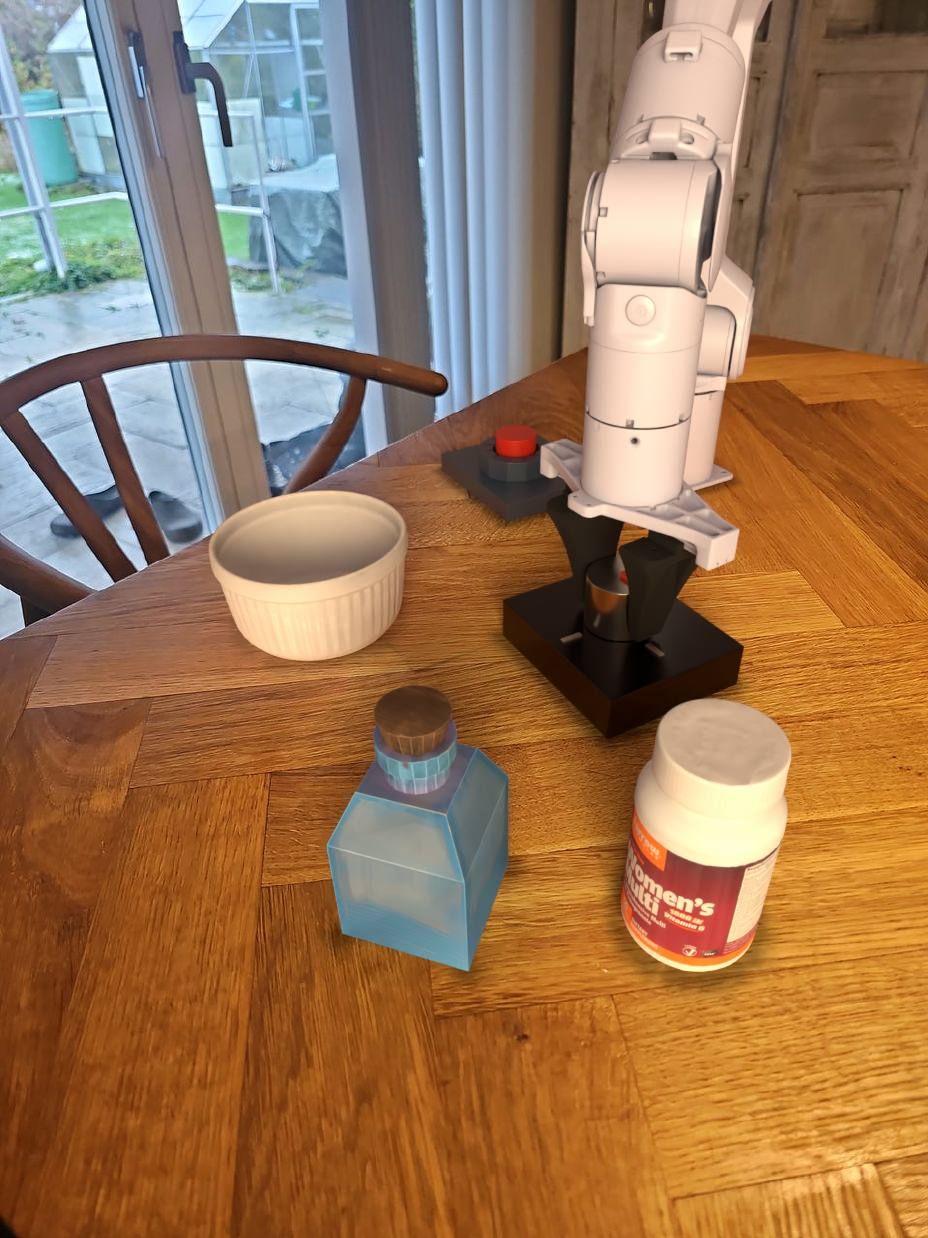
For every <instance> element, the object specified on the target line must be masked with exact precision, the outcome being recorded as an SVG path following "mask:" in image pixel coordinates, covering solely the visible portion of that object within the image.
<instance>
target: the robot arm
mask: <svg viewBox="0 0 928 1238" xmlns="http://www.w3.org/2000/svg"><path fill="white" fill-rule="evenodd" d="M772 1H773V0H665V2H664V10H663V17H662V26H661V29H660V30H658V31H657V32H655V33H654V34H652V35H651V36H649V38H648V39H647V40H646V41H644V43H643V44H642V45H641V47H640V48H639V49H638V50H637V53H636V54H635V56H634V58H633V61H632V64H631V69H630V71H629V72H630V73H629V77H628V81H627V85H626V89H625V94H624V98H623V103H622V107H621V110H620V115H619V119H618V124H617V128H616V131H615V136H614V140H613V145H612V149H611V154H610V158H609V162H608V165H607V167H606V169H605V170H606V171H601V172H600V171H599V170H594V171H593V172H592V173H591V174H590V177H589V180H588V183H587V186H586V191H585V196H584V200H583V205H582V210H581V211H582V212H581V220H580V233H579V243H580V244H579V250H580V251H579V252H580V266H581V276H582V285H583V307H582V311H583V312H582V316H583V324H584V325H587V326H588V327H589V334H588V346H587V347H588V348H587V361H586V362H587V365H586V383H585V399H584V415H583V418H584V420H583V432H582V433H583V434H582V435H583V436H582V444H580V443H578V442H575V441H572V440H570V439H568V438H561V439H558V440H556V441H555V440H554V441H550V442H551V443H548V444H545V445H542V446H541V460H540V473H541V474H543V475H544V476H546V477H548V478H554V477H557V476H559V477H561V478H562V479H564V480H565V482H566V488H565V490H563V494H562V495H559V496H556V497H553V498H551V499H550V500H548V502H547V510H546V513H547V515H548V516H549V518H550V519H551V521H552V523H553V525H554V526H555V528H556V530H557V532H558V534H559V536H560V538H561V541H562V543H563V546H564V549H565V552H566V555H567V558H568V562H569V565H570V566H569V567H570V570H571V575H572V576H573V579H574V583H575V588H576V592H577V596H578V599H579V601H581V602H582V603H585V588H586V573H587V569H588V568H589V566H590V565H591V564H592V563H594V562H595V561H597V560H600V559H603V558H607V557H614V556H617V552H618V556H620V557H621V560H622V562H623V565H624V568H625V572H626V576H627V581H628V589H629V613H628V628H629V634H630V637H631V638H632V639H634V640H635V641H636V642H640V641H643V640H645V639H647V638H649V637H651V636H653V635H656V634H658V633H660V632H661V631H662V628H663V626H664V624H665V621H666V619H667V617H668V614H669V612H670V610H671V608H672V606H673V604H674V602H675V600H676V598H678V596H679V594H680V593H681V591H682V589H683V588H684V586H685V585H686V583H687V582H688V580H689V579H690V578H691V576H692V575H693V573H694V572H695V571H696V570H697V568H698V567H700V568H702V569H704V570H705V571H708V572H709V571H711V570H713V569H717V568H719V567H722V566H724V565H727V564H728V563H730V562H732V561H735V558H736V552H737V546H738V542H739V537H740V530H741V529H740V528H739V527H737V526H736V525H733V524H732V523H730V522H729V521H727V520H726V519H725V518H723V517H722V516H721V515H719V513H717V512H716V511H715V510H714V509H713V508H712V507H711V506H710V505H709V504H708V503H707V502H706V501H705V500H704V499H703V498H702V497H701V496H700V495H699V494H698V493H697V492H696V491H699V490H701V489H705V488H709V487H712V486H715V485H718V484H722V483H723V482H724V483H725V482H728V481H731V480H732V479H733V478H734V474H733V472H732V471H729V470H727V469H726V468H723V467H722V466H720V465H717V464H715V463H714V462H715V455H716V449H717V442H718V435H719V430H720V423H721V416H722V409H723V404H724V397H725V390H726V387H727V384H728V381H731V382H732V381H733V382H734V381H736V380H737V379H738V378H739V377H741V376H742V375H743V373H744V370H745V364H746V357H747V351H748V347H749V340H750V334H751V327H752V321H753V316H754V309H755V308H754V307H753V306H754V305H753V304H754V298H755V293H756V287H755V286H754V285H753V283H754V281H753V279H752V278H751V277H750V276H749V275H748V274H747V273H746V272H745V271H744V270H742V268H741V267H739V266H738V265H737V264H736V263H734V262H733V261H732V259H730V258H729V257H728V256H727V255H726V249H727V241H728V235H729V228H730V219H731V213H732V205H733V199H734V191H735V184H736V175H737V169H738V162H739V153H740V146H741V139H742V132H743V125H744V118H745V112H746V105H747V104H746V103H747V96H748V89H749V81H750V75H751V66H752V60H753V52H754V45H755V38H756V34H757V32H758V28H759V27H760V24H761V22H762V20H763V18H764V16H765V13H766V11H767V9H768V6H769V4H770V3H771V2H772ZM625 523H626V524H630V525H633V526H636V527H639V528H642V529H647V530H648V532H647V536H642V537H640V538H637V539H634V540H632V541H629V542H627V543H623V544H622V545H619V543H620V538H621V534H622V531H623V528H624V524H625Z"/></svg>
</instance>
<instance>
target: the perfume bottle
mask: <svg viewBox="0 0 928 1238" xmlns="http://www.w3.org/2000/svg"><path fill="white" fill-rule="evenodd" d="M452 713H453V705H452V701H451V699H450V698H449V696H448V695H447V694H446V693H444V692H443V691H441V690H440V689H438V688H435V687H432V686H430V685H422V684H410V685H403V686H400V687H396V688H393V689H391V690H390V691H388V692H386V693H384V694H383V695H382V696H381V697H380V698H379V700H377V701H376V703H375V706H374V709H373V717H374V718H373V719H374V721H375V726H374V729H373V731H372V738H373V748H374V756H375V757H374V759H373V761H372V763H371V764H370V766H369V768H368V770H367V771H366V773H365V774H364V776H363V778H362V779H361V781H360V783H359V785H358V787H357V788H356V790H355V791H354V793H353V795H352V797H351V798H350V801H349V802H348V804H347V807H346V808H345V810H344V812H343V814H342V815H341V818H340V819H339V821H338V822H337V825H336V827H335V828H334V830H333V832H332V834H331V836H330V838H329V840H328V842H327V843H326V850H327V851H326V852H327V856H328V863H329V867H330V873H331V879H332V884H333V889H334V895H335V900H336V907H337V911H338V916H339V917H338V918H339V922H340V929H341V934H342V935H346V936H349V937H352V938H356V939H359V940H362V941H366V942H369V943H372V944H376V945H379V946H382V947H386V948H389V949H392V950H395V951H398V952H402V953H404V954H405V953H406V954H409V955H412V956H415V957H417V958H418V957H419V958H422V959H425V960H428V961H432V962H436V963H439V964H442V965H445V966H448V967H451V968H455V969H459V970H462V971H465V972H469V971H470V968H471V966H472V963H473V960H474V957H475V955H476V952H477V949H478V948H479V944H480V941H481V938H482V936H483V933H484V931H485V928H486V925H487V924H488V923H487V922H488V920H489V917H490V914H491V912H492V909H493V906H494V904H495V902H496V898H497V895H498V893H499V890H500V888H501V885H502V883H503V879H504V877H505V874H506V872H507V868H508V867H509V814H510V812H509V811H510V810H509V805H510V801H509V800H510V797H509V796H510V795H509V793H510V783H509V782H510V775H508V774H507V773H506V772H505V771H504V770H503V769H501V767H499V765H498V764H496V763H495V762H494V761H493V760H492V759H491V758H489V756H488V755H486V754H485V753H484V752H483V751H482V750H481V749H480V748H478V747H476V746H472V745H467V744H463V743H459V742H458V731H457V725H456V722H455V721H454V720H453V718H452Z"/></svg>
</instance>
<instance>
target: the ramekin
mask: <svg viewBox="0 0 928 1238" xmlns="http://www.w3.org/2000/svg"><path fill="white" fill-rule="evenodd" d="M408 534H409V533H408V528H407V523H406V520H405V518H404V516H403V515H402V514H401V513H400V512H399V510H397V509H396V508H395V507H394V506H393V505H391V504H389V503H388V502H386V501H385V500H382V499H380V498H378V497H374V496H371V495H369V494H364V493H358V492H355V491H347V490H339V489H337V490H336V489H328V490H327V489H321V490H317V489H315V490H307V491H305V490H304V491H298V492H290V493H286V494H281V495H277V496H274V497H269V498H267V499H263V500H261V501H258V502H254V503H252V504H250V505H248V506H246V507H244V508H242V509H240V510H238V511H237V512H234V513H233V514H232V515H230V516H229V517H228V518H226V519H224V521H223V522H221V524H219V525H218V526H217V527H216V529H215V530H214V531H213V534H212V535H211V537H210V539H209V542H208V556H209V563H210V568H211V570H212V573H213V575H214V577H215V578H216V580H217V581H218V582H219V584H220V587H221V589H222V592H223V595H224V599H225V601H226V603H227V606H228V608H229V611H230V614H231V616H232V619H233V621H234V623H235V626H236V627H237V629H238V632H240V634H241V635H242V636H243V637H244V638H245V640H247V641H248V642H249V643H250V644H251V645H253V646H255V647H256V648H258V649H259V650H261V651H263V652H265V653H267V654H268V655H270V656H274V657H277V658H280V659H285V660H290V661H297V662H298V661H302V662H314V661H315V662H316V661H326V660H331V659H335V658H340V657H343V656H348V655H351V654H354V653H355V652H358V651H360V650H363V649H365V648H366V647H368V646H370V645H371V644H373V643H375V642H376V641H377V640H378V639H380V638H381V637H382V636H383V635H384V634H385V633H386V632H387V631H388V630H389V629H390V627H391V626H393V623H394V622H395V621H396V619H397V617H398V615H399V613H400V611H401V608H402V602H403V598H404V597H403V596H404V584H405V562H406V561H405V559H406V558H405V557H406V555H407V553H408V548H409V535H408Z"/></svg>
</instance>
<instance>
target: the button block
mask: <svg viewBox="0 0 928 1238" xmlns="http://www.w3.org/2000/svg"><path fill="white" fill-rule="evenodd" d="M551 442H552V441H549V440H548V439H546V438H544V437H543V436H541V435H537V434H536V452H535V454H533V455H529V456H525V457H506V456H501V455H498V454H497V453H496V444H495V435H491V436H489V437H488V438H486V439H485V440H483V441H482V442H481V443H478V444H475V445H471V446H467V447H461V448H459V449H455V450H451V451H447V452H442V453H441V454H440V457H441V458H440V461H441V463H440V464H441V471H443V473H445V474H446V475H448V476H449V477H450V478H451V479H452V480H454V482H456V483H458V484H459V485H460V486H461V487H462V488H464V490H466V491H468V492H469V493H470V494H471V495H473V496H474V497H475V498H476V499H477V500H479V501H480V502H482V504H484V505H485V506H486V507H488V508H489V509H490V510H491V511H493V512H494V513H495V514H496V515H498V516H499V517H500V518H501V519H503V520H504V521H505V522H507V523H509V522H512V521H515V520H519V519H522V518H526V517H529V516H533V515H535V514H540V513H543V512H547V502H548V500H550V499H551V498H553V497H556V496H559V495H562V494H563V490H565V488H566V482H565V480H564V479H562V478H561V477H559V476H557V477H554V478H548V477H546V476H544V475H543V474H541V473H540V460H541V446H542V445H545V444H548V443H551Z"/></svg>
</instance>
